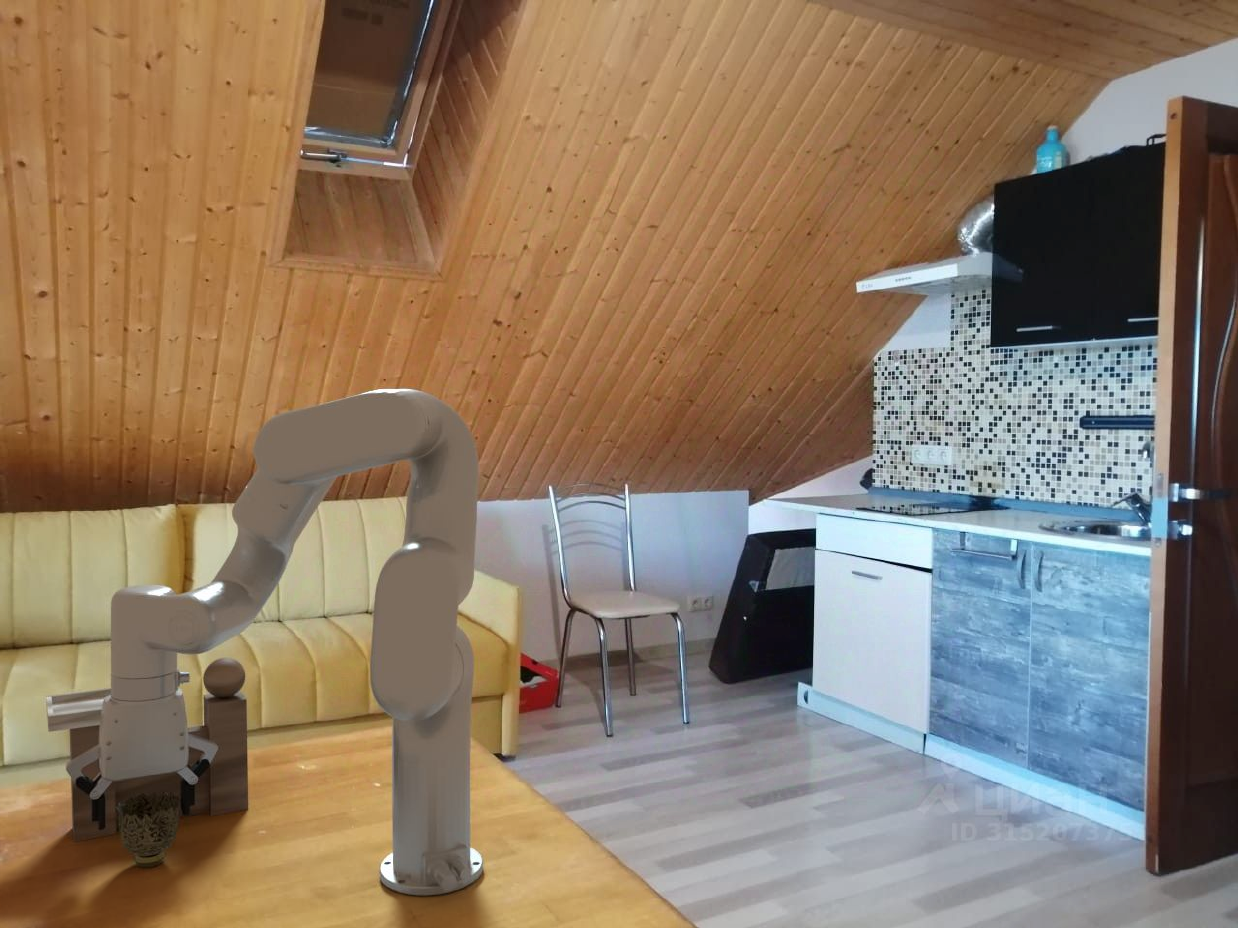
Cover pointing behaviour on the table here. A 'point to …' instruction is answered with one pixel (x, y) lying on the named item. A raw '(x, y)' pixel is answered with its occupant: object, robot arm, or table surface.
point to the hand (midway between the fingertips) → (143, 818)
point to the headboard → (213, 790)
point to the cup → (148, 826)
